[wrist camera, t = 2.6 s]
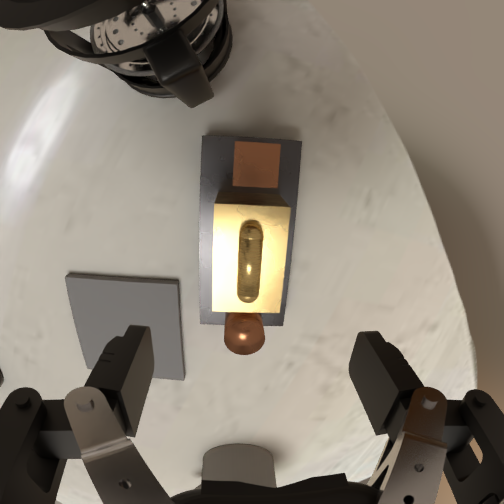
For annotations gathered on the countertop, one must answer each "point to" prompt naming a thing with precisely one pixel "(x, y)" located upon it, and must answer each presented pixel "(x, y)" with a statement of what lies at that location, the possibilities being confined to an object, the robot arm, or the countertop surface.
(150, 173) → the countertop surface
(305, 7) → the countertop surface
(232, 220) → the lever cap
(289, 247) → the hand plane
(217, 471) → the coffee mug
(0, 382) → the supplement bottle
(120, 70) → the french press
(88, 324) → the rubber mat
